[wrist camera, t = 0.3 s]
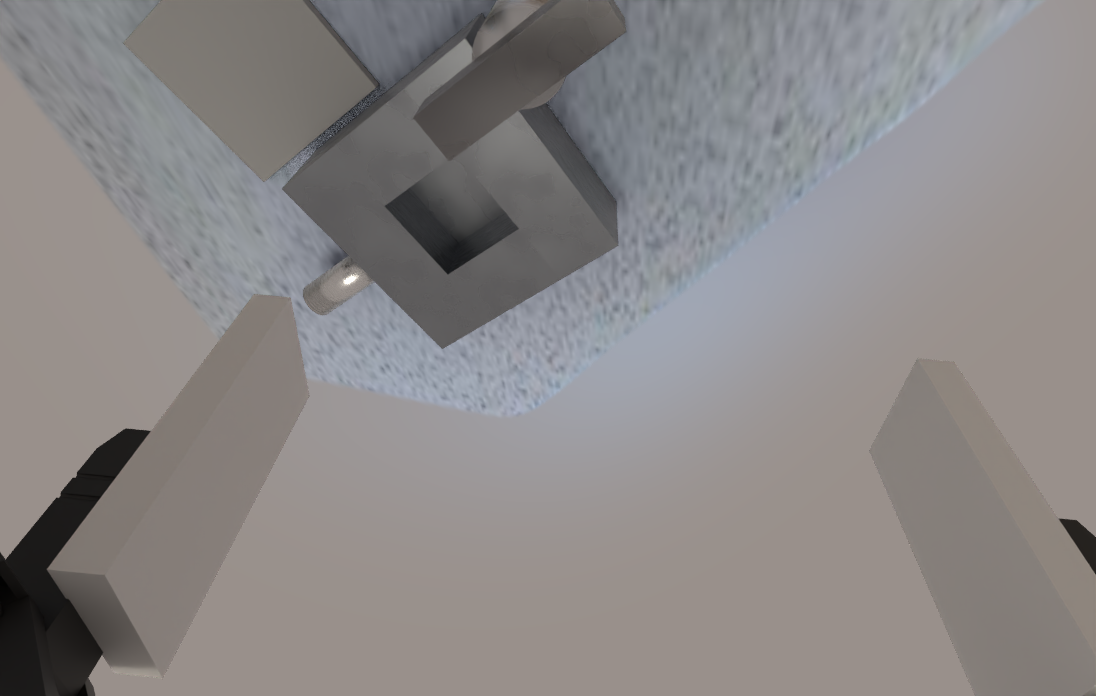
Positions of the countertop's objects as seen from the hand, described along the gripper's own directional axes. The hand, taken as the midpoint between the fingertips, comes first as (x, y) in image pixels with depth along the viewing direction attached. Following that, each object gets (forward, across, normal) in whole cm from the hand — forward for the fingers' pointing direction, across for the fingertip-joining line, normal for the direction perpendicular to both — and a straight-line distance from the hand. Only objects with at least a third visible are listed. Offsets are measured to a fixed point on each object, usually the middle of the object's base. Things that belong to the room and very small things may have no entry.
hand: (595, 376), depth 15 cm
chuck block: (+24, -9, -8) cm, 27 cm away
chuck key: (+24, -3, +3) cm, 24 cm away
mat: (+24, -18, -1) cm, 30 cm away
